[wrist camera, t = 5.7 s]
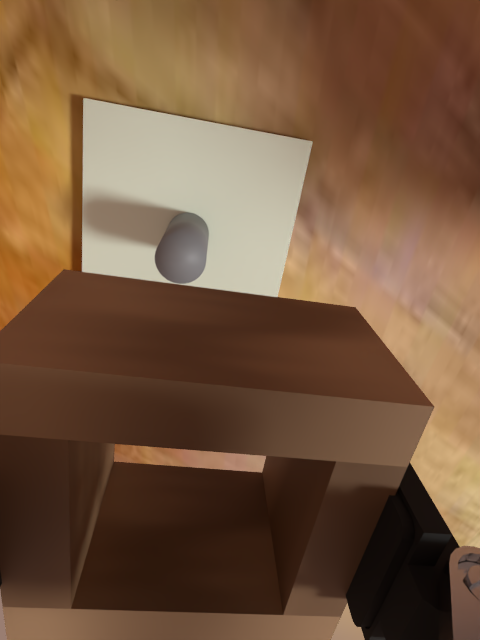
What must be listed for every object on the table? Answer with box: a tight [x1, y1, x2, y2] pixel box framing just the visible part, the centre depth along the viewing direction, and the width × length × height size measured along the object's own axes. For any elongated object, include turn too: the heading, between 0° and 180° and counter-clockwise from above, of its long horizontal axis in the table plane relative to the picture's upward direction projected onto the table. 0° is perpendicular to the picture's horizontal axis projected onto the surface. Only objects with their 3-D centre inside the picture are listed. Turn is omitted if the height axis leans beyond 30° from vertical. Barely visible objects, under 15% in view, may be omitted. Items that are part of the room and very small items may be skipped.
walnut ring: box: [0, 270, 434, 640], centre depth 9 cm, size 7×7×4 cm
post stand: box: [82, 98, 313, 297], centre depth 25 cm, size 14×14×7 cm
